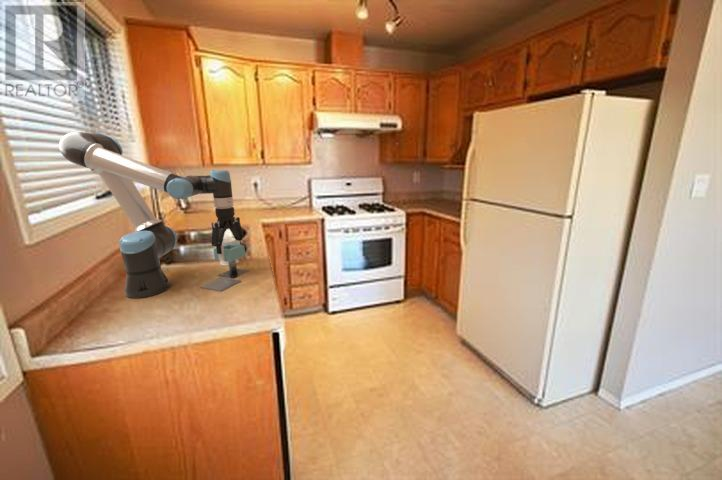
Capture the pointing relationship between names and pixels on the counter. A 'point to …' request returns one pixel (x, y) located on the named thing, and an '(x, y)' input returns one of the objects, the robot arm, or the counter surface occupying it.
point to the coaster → (220, 284)
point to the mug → (225, 241)
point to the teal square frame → (231, 252)
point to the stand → (233, 271)
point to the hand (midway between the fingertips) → (230, 257)
